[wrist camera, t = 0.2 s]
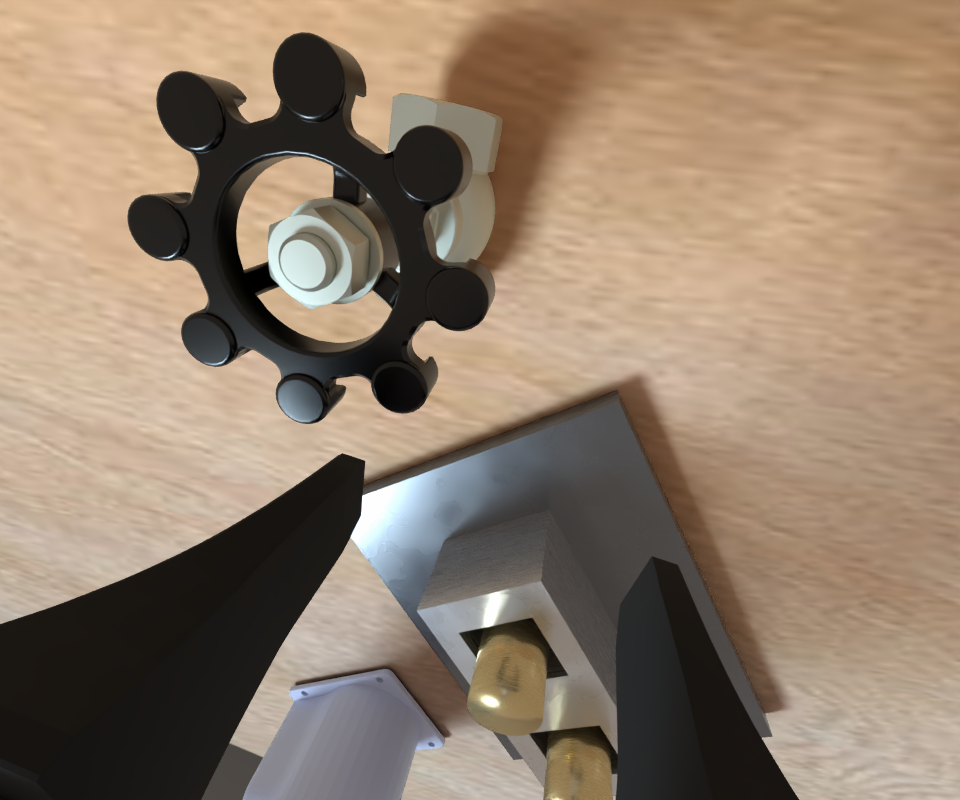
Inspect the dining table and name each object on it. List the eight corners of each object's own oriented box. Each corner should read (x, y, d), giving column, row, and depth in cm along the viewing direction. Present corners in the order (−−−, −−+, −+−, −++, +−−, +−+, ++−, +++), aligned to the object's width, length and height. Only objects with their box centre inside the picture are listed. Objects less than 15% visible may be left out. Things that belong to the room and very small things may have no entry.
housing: (557, 712, 29) (552, 799, 25) (444, 540, 25) (416, 611, 21) (655, 700, 27) (667, 793, 23) (549, 509, 23) (541, 581, 19)
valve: (551, 131, 17) (535, 80, 7) (511, 306, 20) (455, 464, 10) (376, 92, 17) (89, -15, 7) (362, 271, 21) (149, 386, 10)
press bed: (515, 740, 33) (513, 759, 32) (339, 494, 26) (329, 507, 25) (765, 714, 27) (772, 736, 26) (617, 390, 21) (618, 402, 20)
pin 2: (564, 734, 25) (560, 835, 22) (540, 697, 25) (531, 796, 21) (618, 728, 24) (624, 834, 20) (595, 690, 23) (596, 792, 20)
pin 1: (505, 645, 23) (488, 739, 20) (476, 601, 23) (453, 691, 19) (561, 634, 22) (555, 731, 18) (533, 588, 21) (521, 680, 18)
